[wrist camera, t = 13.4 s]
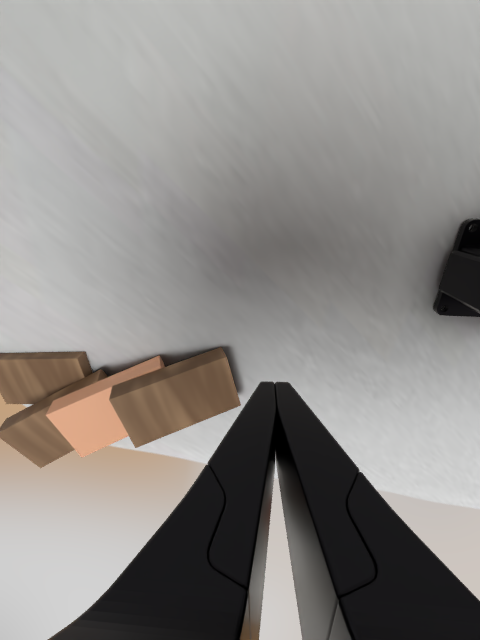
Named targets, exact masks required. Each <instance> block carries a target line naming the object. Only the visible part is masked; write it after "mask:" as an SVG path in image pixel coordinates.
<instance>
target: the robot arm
mask: <svg viewBox="0 0 480 640" xmlns="http://www.w3.org/2000/svg"><path fill="white" fill-rule="evenodd" d="M472 224H473V228H472V230H470V231H469V227H470V226H471V225H472ZM439 289H440V290H439V293H438V296H437V299H436V302H435V305H434V311H435V312H436V313H438V314H439V315H447V316H473V317H480V219H469V220H467V221H465V222H464V223H463V224H462V226H461V228H460V231H459V234H458V237H457V240H456V243H455V246H454V249H453V252H452V253H451V254H450V257H449V260H448V263H447V266H446V269H445V272H444V275H443V278H442V281H441V284H440V287H439ZM443 306H445V307H444V309H442V310H441V307H443ZM275 452H276V464H277V472H278V478H279V485H280V492H281V499H282V505H283V512H284V518H285V525H286V532H287V539H288V545H289V552H290V559H291V565H292V572H293V579H294V586H295V592H296V599H297V605H298V612H299V619H300V626H301V633H302V639H303V640H480V601H479V600H478V599H477V598H476V597H475V596H474V595H473V594H472V593H471V591H469V590H468V588H467V587H466V586H465V585H464V584H463V583H462V582H460V580H459V579H458V578H457V577H456V576H455V575H454V574H453V573H452V572H451V571H450V570H449V569H448V568H447V566H445V564H444V563H443V562H442V561H441V560H440V559H439V558H438V557H437V556H436V555H435V554H434V553H433V552H432V551H431V550H430V549H429V548H428V547H427V546H426V545H425V544H424V543H423V542H422V541H421V539H419V537H418V536H417V535H416V534H415V533H414V532H413V531H412V530H411V529H410V528H409V527H408V526H407V524H405V522H404V521H403V520H402V519H401V518H400V517H399V516H398V515H397V514H396V513H395V511H394V510H392V508H391V507H390V506H389V505H388V504H387V502H386V501H385V500H384V499H383V498H382V497H381V495H380V494H379V493H378V492H377V491H376V489H375V488H374V487H373V486H372V485H371V483H370V482H369V481H368V480H367V478H366V477H365V476H364V475H363V473H362V472H359V469H358V467H357V466H356V465H355V464H354V462H353V461H352V460H351V459H350V457H349V456H348V455H347V454H346V452H345V451H344V450H343V449H342V447H341V446H340V445H339V444H338V443H337V441H336V440H335V439H334V438H333V436H332V435H331V434H330V433H329V431H328V430H327V429H326V428H325V426H324V425H323V424H322V423H321V421H320V420H319V419H318V418H317V417H316V415H315V414H314V413H313V412H312V410H311V409H310V408H309V407H308V405H307V404H306V403H305V402H304V400H303V399H302V398H301V397H300V395H299V394H298V393H297V392H296V390H295V389H294V388H293V387H292V386H291V384H290V383H288V382H276V383H275V384H274V382H260V384H259V385H258V387H257V388H256V390H255V391H254V393H253V394H252V396H251V397H250V399H249V400H248V402H247V403H246V405H245V406H244V408H243V410H242V411H241V413H240V414H239V416H238V417H237V419H236V420H235V422H234V423H233V425H232V426H231V428H230V429H229V431H228V432H227V434H226V435H225V437H224V439H223V440H222V442H221V443H220V445H219V446H218V448H217V449H216V451H215V452H214V454H213V455H212V457H211V458H210V460H209V461H208V465H206V466H205V467H204V469H203V470H202V472H201V473H200V475H199V476H198V478H197V479H196V481H195V482H194V484H193V485H192V487H191V488H190V489H189V491H188V492H187V494H186V495H185V497H184V498H183V499H182V500H181V502H180V503H179V504H178V505H177V507H176V508H175V509H174V511H173V512H172V513H171V514H170V516H169V517H168V518H167V519H166V521H165V522H164V523H163V524H162V526H161V527H160V528H159V529H158V530H157V531H156V533H155V534H154V535H153V536H152V538H151V539H150V540H149V541H148V542H147V544H146V545H145V546H144V547H143V548H142V549H141V551H140V552H139V553H138V554H137V556H136V557H135V558H134V559H133V561H132V562H131V563H130V564H129V565H128V566H127V568H126V569H125V570H124V571H123V573H122V574H121V575H120V576H119V577H118V578H117V580H116V581H115V582H114V583H113V584H112V585H111V587H110V588H109V589H108V590H107V591H106V592H105V593H104V594H103V595H102V596H101V597H100V598H99V599H98V600H97V601H96V602H95V603H94V604H93V605H92V606H91V607H90V608H89V609H88V610H87V611H86V612H84V613H83V614H82V615H81V616H80V617H78V618H77V619H76V620H75V621H73V622H72V623H71V624H69V625H68V626H67V627H65V628H64V629H62V630H61V631H59V632H58V633H57V634H55V635H54V636H52V637H51V638H50V639H48V640H259V630H260V621H261V610H262V600H263V589H264V578H265V568H266V556H267V546H268V535H269V525H270V514H271V503H272V491H273V482H274V471H275Z"/></svg>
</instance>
